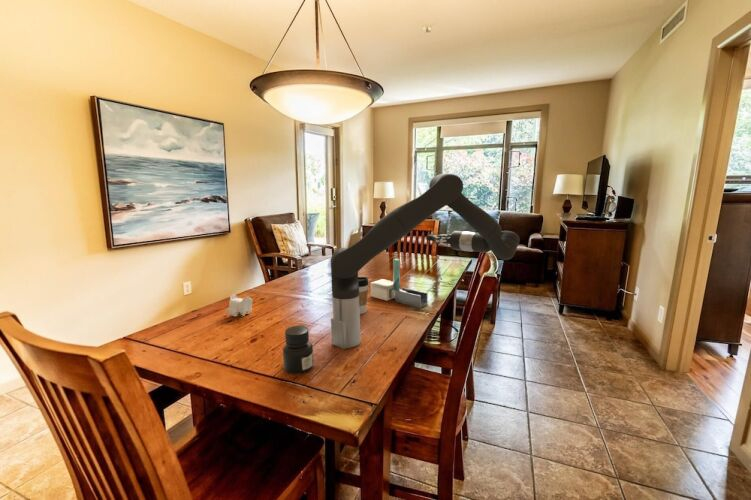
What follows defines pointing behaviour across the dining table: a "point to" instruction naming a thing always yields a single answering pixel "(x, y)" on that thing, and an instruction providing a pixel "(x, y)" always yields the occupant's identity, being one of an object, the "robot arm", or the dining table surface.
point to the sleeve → (411, 297)
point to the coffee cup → (363, 293)
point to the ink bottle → (297, 350)
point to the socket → (381, 289)
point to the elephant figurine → (239, 305)
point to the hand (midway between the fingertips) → (427, 237)
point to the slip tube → (395, 278)
